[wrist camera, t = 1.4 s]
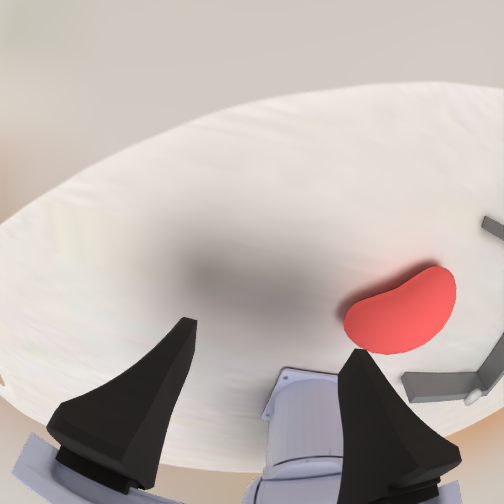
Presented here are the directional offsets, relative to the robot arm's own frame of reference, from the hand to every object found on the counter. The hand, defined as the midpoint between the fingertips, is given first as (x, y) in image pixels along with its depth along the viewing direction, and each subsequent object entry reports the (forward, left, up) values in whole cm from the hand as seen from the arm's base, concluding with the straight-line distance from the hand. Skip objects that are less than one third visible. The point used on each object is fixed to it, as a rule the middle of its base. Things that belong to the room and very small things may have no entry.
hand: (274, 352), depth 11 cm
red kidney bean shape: (-1, -10, -9) cm, 13 cm away
